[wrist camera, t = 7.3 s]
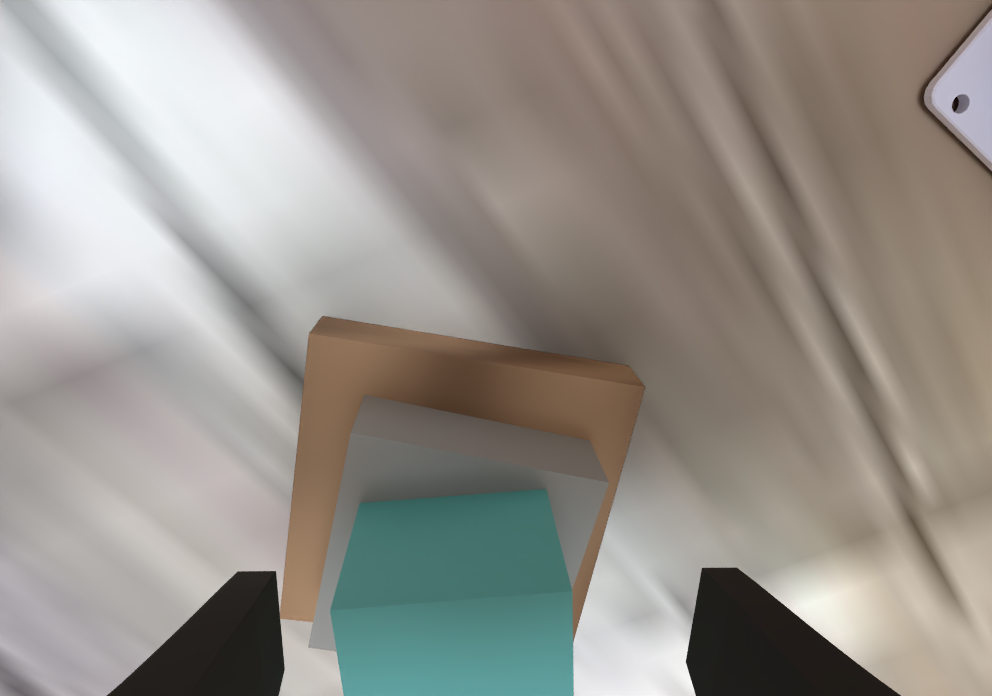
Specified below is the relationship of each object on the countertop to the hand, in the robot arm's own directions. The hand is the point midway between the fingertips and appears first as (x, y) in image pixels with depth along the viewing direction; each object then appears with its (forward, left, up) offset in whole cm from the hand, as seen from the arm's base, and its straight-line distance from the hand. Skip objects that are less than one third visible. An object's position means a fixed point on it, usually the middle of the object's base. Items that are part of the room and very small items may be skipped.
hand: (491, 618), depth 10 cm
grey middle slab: (-1, +3, -9) cm, 9 cm away
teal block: (-2, +3, -6) cm, 7 cm away
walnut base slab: (-1, +3, -11) cm, 12 cm away
